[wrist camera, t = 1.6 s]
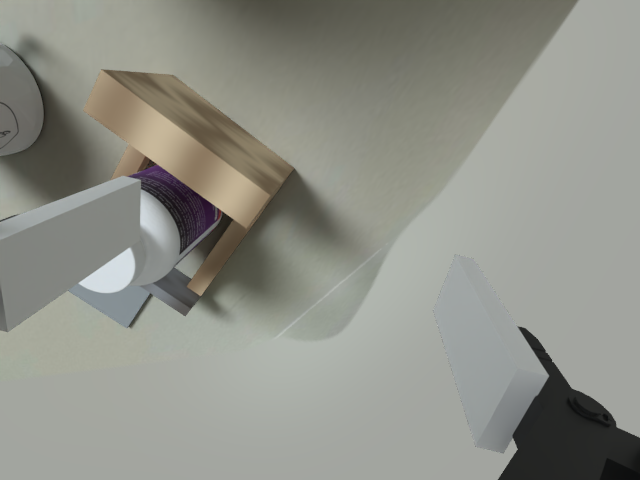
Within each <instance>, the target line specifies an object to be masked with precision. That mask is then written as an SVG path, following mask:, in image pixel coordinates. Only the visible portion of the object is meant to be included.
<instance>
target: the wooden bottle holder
mask: <svg viewBox="0 0 640 480" xmlns="http://www.w3.org/2000/svg"><path fill="white" fill-rule="evenodd" d="M83 111H84V112H86V113H87V114H88V115H90V116H91V117H93V118H94V119H95V120H97V121H98V122H99V123H101V124H102V125H104V126H105V127H106V128H108V129H109V130H111V131H112V132H113V133H115V134H116V135H117V136H119V137H120V138H122V139H123V140H124V141H126V142H127V143H129V145H128V147H127V149H126V151H125V152H124V154H123V156H122V158H121V160H120V162H119V164H118V166H117V168H116V170H115V172H114V174H113V176H112V178H111V180H113V179H115V178H118V177H121V176H126V177H127V176H130V175H132V174H135V173H138V172H140V171H143V170H145V168H146V167H147V165H148V163H149V161H150V159H151V160H152V161H153V162H155V163H156V164H158V165H159V166H160V167H162V168H163V169H165V170H166V171H167V172H169V173H170V174H172V175H173V176H174V177H176V178H177V179H178V180H180V181H181V182H183V183H184V184H185V185H187V186H188V187H190V188H191V189H192V190H194V191H195V192H196V193H198V194H199V195H201V196H202V197H203V198H205V199H206V200H208V201H209V202H210V203H212V204H213V205H214V206H216V207H217V208H219V209H220V210H221V211H223V212H224V213H226V214H227V215H228V216H230V217H231V218H232V219H234V220H233V221H232V222H231V224H230V225H229V227H228V228H227V230H226V231H225V232H224V234H223V235H222V237H221V238H220V240H219V241H218V242H217V244H216V245H215V247H214V248H213V250H212V251H211V252H210V254H209V255H208V257H207V258H206V260H205V261H204V262H203V264H202V265H201V267H200V268H199V270H198V271H197V272H196V274H195V275H194V277H193V278H192V280H191V279H190V278H189V277H187V276H186V275H184V274H183V273H181V272H180V271H178V270H177V269H175V268H173V269H172V270H171V271H170V272H169V273H168V274H167V275H165V276H164V277H163V278H161V279H160V280H158V281H156V282H153V283H150V284H147V285H141V286H140V287H142V288H143V289H145V290H146V291H148V292H149V293H151V294H152V295H154V296H155V297H157V298H158V299H160V300H161V301H163V302H164V303H166V304H167V305H169V306H170V307H172V308H173V309H175V310H177V311H178V312H180V313H181V314H183V315H184V316H186V315H187V313H188V312H189V311H190V310H191V308H192V307H193V306H194V305H195V303H196V302H197V301H198V299H199V298H200V297H201V296H202V294H203V293H204V291H205V290H206V289H207V287H208V286H209V285H210V283H211V282H212V280H213V279H214V278H215V276H216V275H217V274H218V272H219V271H220V270H221V268H222V267H223V265H224V264H225V263H226V261H227V260H228V259H229V257H230V256H231V254H232V253H233V252H234V250H235V249H236V248H237V246H238V245H239V243H240V242H241V241H242V239H243V238H244V237H245V235H246V234H247V233H248V231H249V230H250V228H251V227H252V226H253V224H254V223H255V222H256V220H257V219H258V217H259V216H260V215H261V213H262V212H263V211H264V209H265V208H266V206H267V205H268V204H269V202H270V201H271V200H272V198H273V197H274V196H275V194H276V193H277V191H278V190H279V189H280V187H281V186H282V185H283V183H284V182H285V180H286V179H287V178H288V176H289V175H290V174H291V172H292V171H293V169H294V168H293V167H292V166H291V165H290V164H288V163H287V162H286V161H284V160H283V159H282V158H280V157H279V156H278V155H276V154H275V153H274V152H273V151H271V150H270V149H269V148H267V147H266V146H265V145H263V144H262V143H261V142H260V141H258V140H257V139H256V138H254V137H253V136H252V135H250V134H249V133H248V132H247V131H245V130H244V129H243V128H241V127H240V126H239V125H237V124H236V123H235V122H233V121H232V120H231V119H230V118H228V117H227V116H226V115H224V114H223V113H222V112H220V111H219V110H218V109H217V108H215V107H214V106H213V105H211V104H210V103H209V102H207V101H206V100H205V99H204V98H202V97H201V96H200V95H198V94H197V93H196V92H194V91H193V90H192V89H190V88H189V87H188V86H187V85H185V84H184V83H183V82H181V81H180V80H179V79H177V78H176V77H175V76H174V75H167V74H154V73H141V72H128V71H114V70H101V71H100V73H99V76H98V78H97V80H96V82H95V85H94V87H93V89H92V91H91V94H90V96H89V98H88V101H87V103H86V105H85V107H84V110H83Z"/></svg>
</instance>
